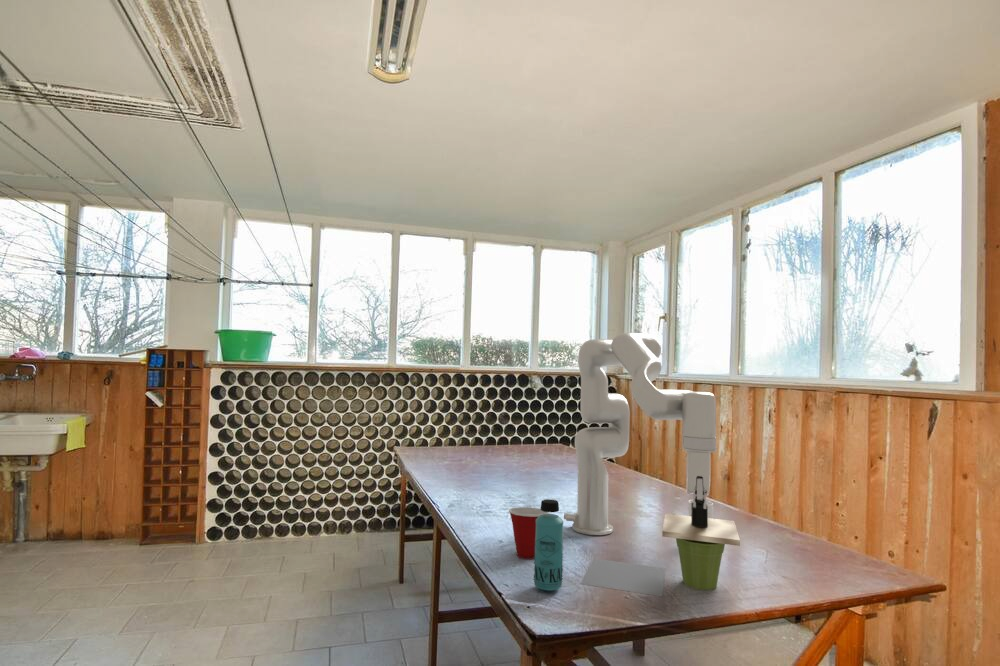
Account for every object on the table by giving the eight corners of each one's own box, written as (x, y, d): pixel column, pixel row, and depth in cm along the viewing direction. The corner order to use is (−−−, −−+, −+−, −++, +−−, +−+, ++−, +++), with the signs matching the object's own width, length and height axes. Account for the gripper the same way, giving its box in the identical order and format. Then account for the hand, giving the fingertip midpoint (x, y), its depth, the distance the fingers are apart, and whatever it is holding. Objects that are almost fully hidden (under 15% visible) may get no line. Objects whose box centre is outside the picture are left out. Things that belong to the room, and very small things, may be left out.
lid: (662, 536, 119) (662, 508, 120) (665, 518, 134) (665, 493, 135) (740, 545, 114) (739, 516, 114) (734, 525, 129) (733, 499, 129)
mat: (580, 585, 121) (580, 583, 121) (593, 560, 138) (593, 558, 138) (662, 598, 115) (662, 596, 115) (665, 570, 132) (665, 568, 132)
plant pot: (723, 601, 115) (722, 547, 116) (667, 588, 121) (667, 538, 122) (731, 583, 125) (731, 534, 126) (680, 572, 131) (680, 525, 132)
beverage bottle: (531, 586, 121) (532, 496, 122) (560, 585, 121) (561, 496, 123) (535, 598, 114) (537, 504, 116) (566, 597, 115) (567, 503, 116)
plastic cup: (552, 551, 145) (553, 506, 145) (542, 564, 134) (543, 516, 135) (514, 546, 148) (515, 502, 149) (502, 559, 138) (503, 512, 139)
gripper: (682, 439, 134) (683, 512, 133) (681, 447, 119) (682, 531, 118) (714, 441, 132) (715, 516, 131) (717, 450, 116) (718, 535, 115)
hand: (699, 522), depth 124 cm, fingers closed on lid, 3 cm apart
